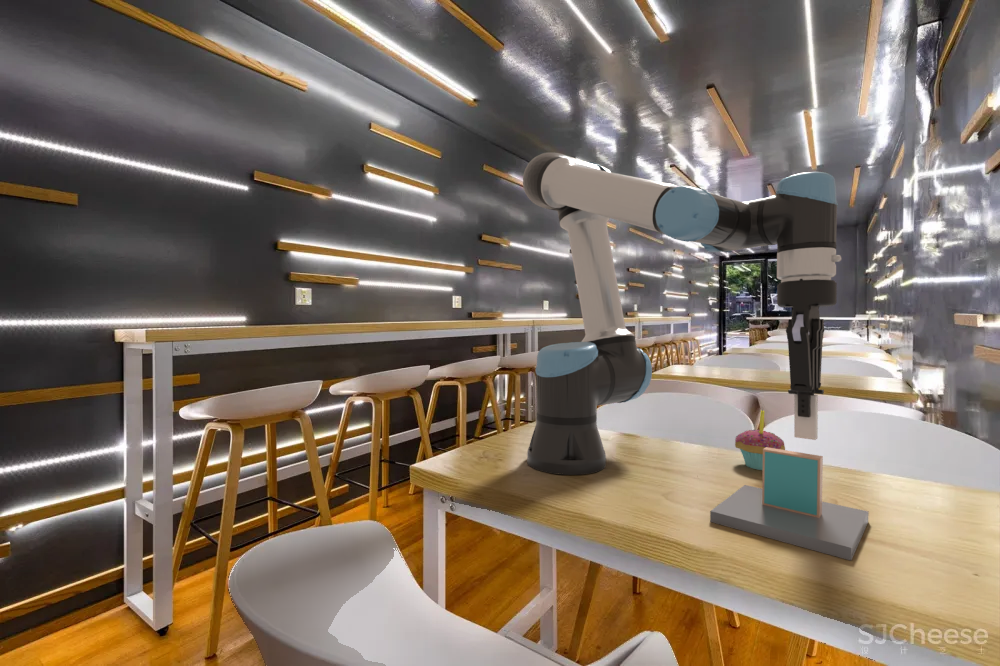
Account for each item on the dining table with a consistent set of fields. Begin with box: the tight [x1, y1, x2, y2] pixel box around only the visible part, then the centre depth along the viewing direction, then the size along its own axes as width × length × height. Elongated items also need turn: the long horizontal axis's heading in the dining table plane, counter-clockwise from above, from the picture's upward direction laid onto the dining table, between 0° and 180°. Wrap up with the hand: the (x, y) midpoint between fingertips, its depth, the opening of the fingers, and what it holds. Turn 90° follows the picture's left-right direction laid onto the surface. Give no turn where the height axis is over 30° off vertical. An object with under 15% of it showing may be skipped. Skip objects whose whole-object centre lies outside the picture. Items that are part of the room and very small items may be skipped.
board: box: [709, 484, 869, 561], centre depth 67 cm, size 16×15×2 cm
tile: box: [761, 447, 824, 518], centre depth 68 cm, size 7×2×8 cm, turn 47°
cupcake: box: [734, 406, 786, 471], centre depth 93 cm, size 9×8×12 cm
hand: (805, 437), depth 73 cm, fingers closed
